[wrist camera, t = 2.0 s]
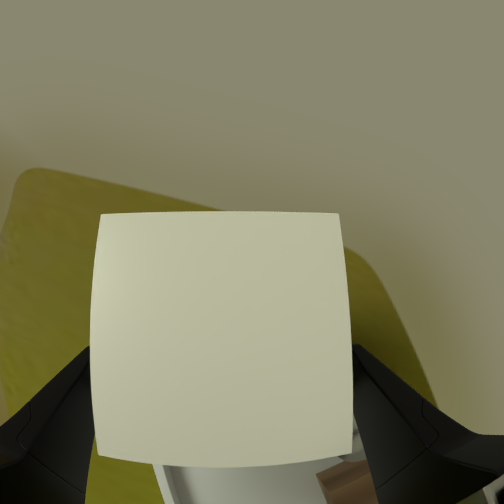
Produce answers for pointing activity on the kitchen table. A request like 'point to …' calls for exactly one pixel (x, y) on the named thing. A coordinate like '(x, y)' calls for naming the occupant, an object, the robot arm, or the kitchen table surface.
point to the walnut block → (348, 483)
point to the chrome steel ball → (355, 447)
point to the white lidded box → (221, 338)
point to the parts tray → (244, 483)
